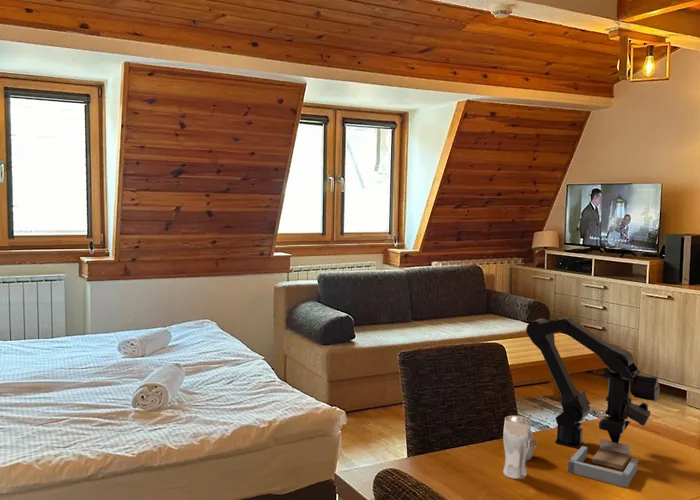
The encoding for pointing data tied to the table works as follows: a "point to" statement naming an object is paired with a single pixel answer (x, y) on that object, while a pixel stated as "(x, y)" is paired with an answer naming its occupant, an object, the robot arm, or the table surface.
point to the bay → (601, 470)
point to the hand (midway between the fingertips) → (615, 445)
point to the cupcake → (531, 446)
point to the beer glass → (516, 446)
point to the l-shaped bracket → (612, 454)
